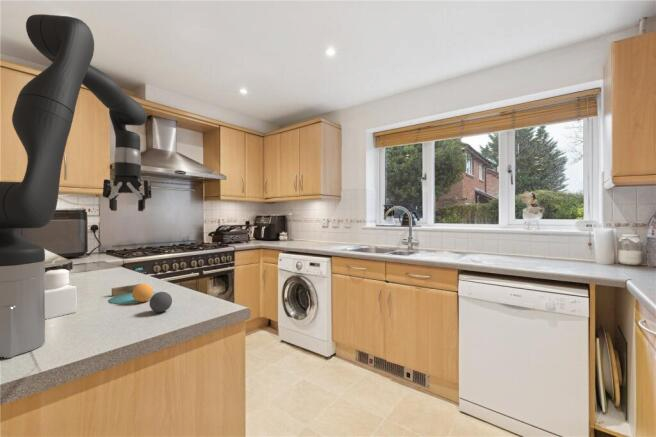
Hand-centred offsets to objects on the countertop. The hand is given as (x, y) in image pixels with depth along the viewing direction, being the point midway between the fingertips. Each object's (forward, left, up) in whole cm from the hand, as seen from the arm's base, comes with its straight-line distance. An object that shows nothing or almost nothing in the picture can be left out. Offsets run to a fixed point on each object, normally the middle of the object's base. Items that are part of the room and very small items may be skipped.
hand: (127, 210), depth 102 cm
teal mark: (-6, -5, -28) cm, 29 cm away
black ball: (-22, -19, -25) cm, 38 cm away
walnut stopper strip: (-1, -1, -28) cm, 28 cm away
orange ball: (-11, -10, -25) cm, 29 cm away
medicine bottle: (-21, +8, -28) cm, 36 cm away
